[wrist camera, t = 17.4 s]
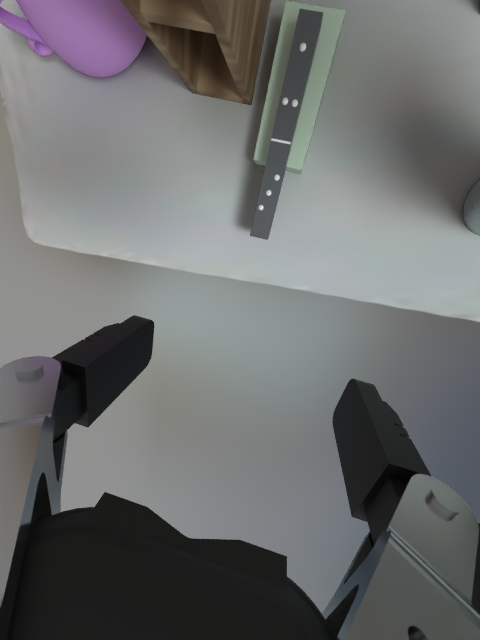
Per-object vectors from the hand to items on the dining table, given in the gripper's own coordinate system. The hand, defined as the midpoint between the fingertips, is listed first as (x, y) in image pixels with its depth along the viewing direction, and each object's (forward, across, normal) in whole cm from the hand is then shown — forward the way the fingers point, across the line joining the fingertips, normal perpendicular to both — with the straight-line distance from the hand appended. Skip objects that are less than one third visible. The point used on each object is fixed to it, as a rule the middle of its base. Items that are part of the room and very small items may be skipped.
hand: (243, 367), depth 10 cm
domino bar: (+33, +4, -14) cm, 36 cm away
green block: (+36, +4, -20) cm, 41 cm away
